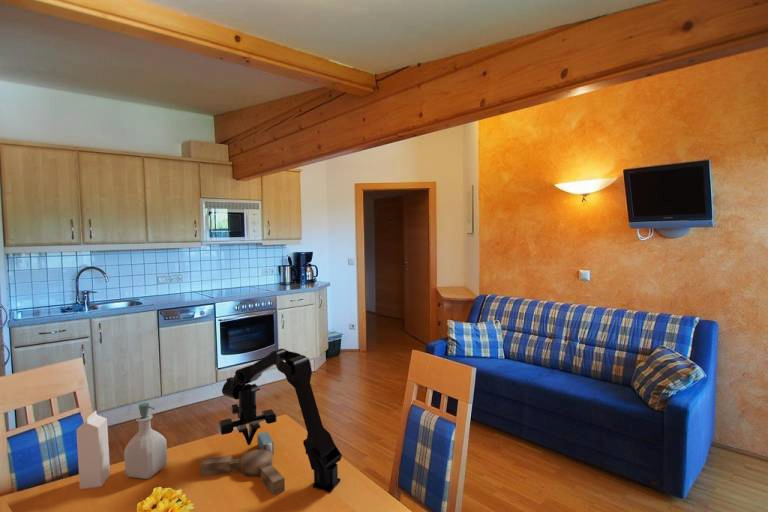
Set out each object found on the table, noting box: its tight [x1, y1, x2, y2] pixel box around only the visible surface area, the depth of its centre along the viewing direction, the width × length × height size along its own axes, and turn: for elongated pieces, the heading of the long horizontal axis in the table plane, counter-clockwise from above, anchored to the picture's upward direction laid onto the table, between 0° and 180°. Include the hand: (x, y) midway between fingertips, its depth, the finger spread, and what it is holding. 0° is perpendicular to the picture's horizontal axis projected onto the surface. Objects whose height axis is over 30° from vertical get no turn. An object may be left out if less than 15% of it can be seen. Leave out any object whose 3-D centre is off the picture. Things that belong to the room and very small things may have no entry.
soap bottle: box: [123, 402, 168, 480], centre depth 133 cm, size 10×10×23 cm
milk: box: [75, 410, 111, 490], centre depth 128 cm, size 6×6×22 cm
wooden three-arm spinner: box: [199, 448, 286, 496], centre depth 133 cm, size 31×16×4 cm, turn 68°
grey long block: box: [256, 431, 275, 455], centre depth 146 cm, size 11×4×4 cm, turn 30°
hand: (248, 444), depth 146 cm, fingers closed
